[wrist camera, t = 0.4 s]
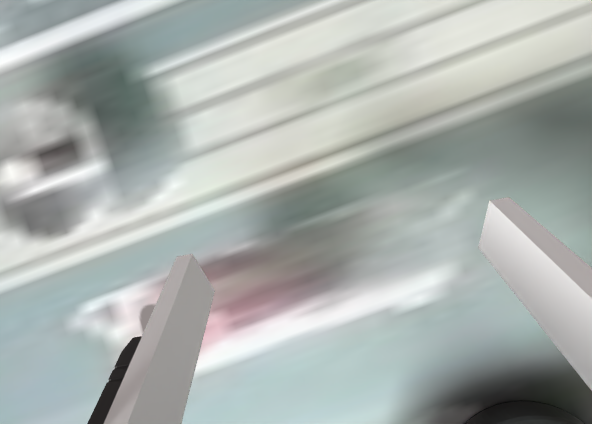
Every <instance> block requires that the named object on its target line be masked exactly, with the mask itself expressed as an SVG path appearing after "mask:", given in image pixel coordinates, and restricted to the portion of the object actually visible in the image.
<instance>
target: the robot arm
mask: <svg viewBox="0 0 592 424" xmlns="http://www.w3.org/2000/svg"><path fill="white" fill-rule="evenodd" d="M478 248H479V250H480V251H481V252H482V253H483V255H484V256H485V257H486V258H487V260H488V261H489V262H490V263H491V265H492V266H493V267H494V268H495V270H496V271H497V272H498V273H499V275H500V276H501V277H502V279H503V280H504V281H505V282H506V284H507V285H508V286H509V287H510V289H511V290H512V291H513V292H514V294H515V295H516V296H517V297H518V299H519V300H520V301H521V302H522V304H523V305H524V306H525V308H526V309H527V310H528V311H529V313H530V314H531V315H532V316H533V318H534V319H535V320H536V321H537V323H538V324H539V325H540V326H541V328H542V329H543V330H544V331H545V333H546V334H547V335H548V337H549V338H550V339H551V340H552V342H553V343H554V344H555V345H556V347H557V348H558V349H559V350H560V352H561V353H562V354H563V355H564V357H565V358H566V359H567V360H568V362H569V363H570V364H571V366H572V367H573V368H574V369H575V371H576V372H577V373H578V374H579V376H580V377H581V378H582V379H583V381H584V382H585V383H586V384H587V386H588V387H589V388H590V389H591V391H592V268H591V267H590V266H589V265H588V264H586V263H585V262H584V261H583V260H582V259H581V258H579V257H578V256H577V255H576V254H575V253H574V252H572V251H571V250H570V249H569V248H568V247H567V246H565V245H564V244H563V243H562V242H561V241H560V240H558V239H557V238H556V237H555V236H554V235H553V234H551V233H550V232H549V231H548V230H547V229H546V228H544V227H543V226H542V225H541V224H540V223H539V222H537V221H536V220H535V219H534V218H533V217H532V216H530V215H529V214H528V213H527V212H526V211H525V210H523V209H522V208H521V207H520V206H519V205H518V204H516V203H515V202H514V201H513V200H512V199H511V198H509V197H507V198H501V199H496V200H490V201H489V205H488V209H487V213H486V217H485V221H484V225H483V230H482V234H481V238H480V242H479V246H478ZM214 292H215V290H214V288H213V287H212V285H211V284H210V282H209V280H208V279H207V277H206V275H205V274H204V272H203V270H202V269H201V267H200V265H199V264H198V262H197V261H196V259H195V257H194V256H193V254H189V255H183V256H178V257H177V258H176V260H175V262H174V264H173V267H172V269H171V271H170V274H169V276H168V278H167V280H166V283H165V285H164V287H163V290H162V292H161V294H160V296H159V299H158V301H157V303H156V305H155V308H154V310H153V312H152V315H151V317H150V319H149V322H148V324H147V326H146V328H145V331H144V333H143V335H142V336H141V337H134V338H132V340H131V341H130V342H129V343H128V345H127V346H126V347H125V348H124V350H123V351H122V352H121V354H120V357H119V359H118V361H117V363H116V365H115V369H114V370H113V371H112V373H111V375H110V377H109V382H108V383H107V384H106V386H105V388H104V390H103V392H102V394H101V396H100V398H99V401H98V403H97V405H96V407H95V409H94V411H93V413H92V415H91V417H90V419H89V421H88V424H181V423H182V419H183V415H184V411H185V407H186V403H187V399H188V395H189V391H190V387H191V383H192V379H193V375H194V371H195V367H196V364H197V360H198V356H199V352H200V348H201V344H202V340H203V336H204V332H205V328H206V324H207V320H208V316H209V312H210V308H211V304H212V300H213V296H214ZM465 424H584V423H583V422H582V421H580V420H579V419H578V418H576V417H575V416H573V415H571V414H570V413H568V412H566V411H564V410H562V409H559V408H557V407H554V406H551V405H547V404H543V403H538V402H529V401H517V402H508V403H503V404H499V405H495V406H493V407H490V408H488V409H485V410H483V411H481V412H480V413H478V414H476V415H475V416H474V417H472V418H471V419H470V420H469V421H467V422H466V423H465Z"/></svg>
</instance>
